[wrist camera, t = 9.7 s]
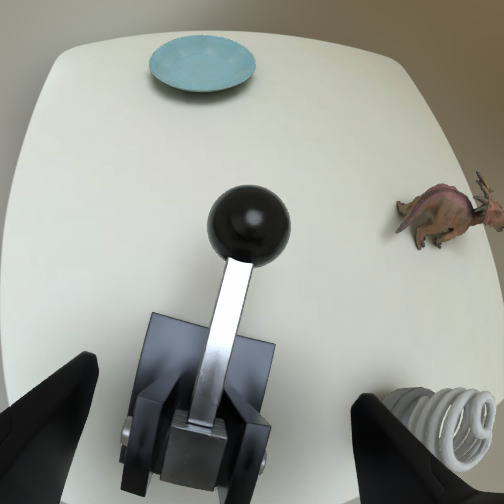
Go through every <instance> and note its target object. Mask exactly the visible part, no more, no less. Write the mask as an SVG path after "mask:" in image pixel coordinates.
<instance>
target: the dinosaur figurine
mask: <svg viewBox="0 0 504 504" xmlns="http://www.w3.org/2000/svg"><path fill="white" fill-rule="evenodd" d="M476 173H477V176H478V177H479V179H480V180H476V182H477V183H478V184H479V185H480V187H481V190H483V192H484V197H480V196H474V197H473V198H475V199H476V200H478V201H480V202H481V203H483V205H481V206H480V207H478V208H476V209H473V206H472V204H471V202H470V200H469V199H468V197H467V196H466V195H464V194H463V193H462V192H459V191H458V190H457V189H456V187H454V186H448V185H446V184H437V185H436V186H434V187H431V188H429V189H428V190H427V191H426V192H425V193H423V194H422V195H421V196H418V197H416V198H415V199H414V200H413V202H411V203H409V204H404V203H402V204H401V203H400V201H397V204H398V207H399V211H400V212H401V213H403V214H404V215H406V214H407V215H406V217H405V219H404V220H403V222H402V223H401V225H400V227H399V228H398V229H397V230H396V232H395V233H396V234H397V233H399V232H401V231H403V230H404V229H405V228H406V227H407V226H408V225H410V223H412V221H413V220H414V219H415V218H416V217H417V216H418V215H419V214H420V213H422V212H423V213H424V215H426V216H427V217H428V218H429V219H430V220H429V221H427V222H426V223H425V224H424V225H422V226H419V227H418V228H417V235H416V241H417V247H418V250H420V249H421V246H422V247H425V243H424V241H425V240H426V239H425V237H424V236H425V235H430V234H436V233H441V232H444V230H446V229H447V228H448V230H449V231H447V232H444V233H441V234H439V236H438V237H437V238H436V246H437V247H438V248H441V246H440V245H441V244H442V242H445V241H448V240H450V239H453V238H455V237H456V236H459V235H462V234H463V233H465V231H466V230H467V229H468V228H469V226H475V225H477V224H481V223H484V224H485V226H486V225H487V224H488V225H489V226H490V227H492V226H493V227H494V229H495V230H496V231H498V232H501V231H503V230H502V228H504V211H503V210H502V207H501V205H500V204H499V203H498V202H494V201H493V200H492V198H491V197H492V196H493V195H492V194H491V192H493V190H492V189H490V187H489V186H488V184H487V182H486V180H485V179H484V178H483V176H481V174H480V173H479V172H476Z"/></svg>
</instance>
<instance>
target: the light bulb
mask: <svg viewBox="0 0 504 504" xmlns="http://www.w3.org/2000/svg"><path fill="white" fill-rule="evenodd" d="M382 403H383V404H384V405H385V406H386V407H387V408H388V409H389V410H390V411H391V412H392V413H393V414H394V415H395V416H396V417H397V418H398V419H399V420H400V421H401V422H402V423H403V424H404V425H405V427H406V428H407V429H408V430H409V431H410V432H411V433H412V434H413V435H414V436H415V437H416V438H417V439H418V440H419V441H420V442H421V443H422V444H423V445H424V446H425V447H426V448H427V449H428V450H429V451H430V452H431V453H432V454H433V455H434V456H435V457H436V458H437V459H439V460H440V461H441V462H442V463H443V464H444V465H445V466H446V467H447V468H448V469H449V470H451V471H453V472H457V473H461V472H465V471H467V470H469V469H471V468H472V467H473V466H475V465H476V464H477V463H478V462H479V461H480V460H481V459H482V458H483V456H484V455H485V453H486V452H487V450H488V448H489V447H490V444H491V441H492V435H493V434H492V432H491V430H492V428H493V424H494V420H495V416H496V402H495V398H494V396H493V395H492V394H491V393H490V392H488V391H482V392H479V391H478V390H476V389H468V390H466V389H465V388H455V389H450V388H446V389H442V390H440V391H438V392H437V393H436V394H435V393H434V392H433V391H431V390H430V389H425V388H423V387H415V388H401V389H397V390H395V391H393V392H391V393H390V394H389V395H388V396H386V397H385V398H384V399H383V400H382ZM484 403H485V404H486V407H487V416H486V420H485V424H484V428H482V423H483V419H484V412H485V404H484ZM450 404H451V407H450V409H449V411H448V413H447V416H446V418H445V421H444V424H443V429H442V433H441V437H440V438H439V432H440V426H441V423H442V420H443V417H444V415H445V413H446V411H447V409H448V407H449V406H450ZM463 407H464V413H463V419H462V422H461V425H460V428H459V430H458V432H457V434H456V435H455V437H454V438H453V434H454V433H455V431H456V429H457V426H458V424H459V421H460V417H461V412H462V409H463ZM469 427H470V432H469V434H468V436H467V438H466V440H465V441H464V443H463V444H462V445H461V446H460V447H459V448H458V449H457V450H456V451H455V452H454V450H455V449H456V448H457V447H458V446H459V445H460V444H461V442H462V441H463V439H464V437H465V436H466V434H467V432H468V429H469ZM475 439H478V440H477V442H476V443H475V445H474V446H473V447H472V448H471V449H470V447H471V445H472V444H473V442H474V441H475ZM469 449H470V450H469ZM468 450H469V451H468ZM467 451H468V452H467ZM466 452H467V453H466ZM465 453H466V454H465ZM464 454H465V455H464ZM463 455H464V456H463Z"/></svg>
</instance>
